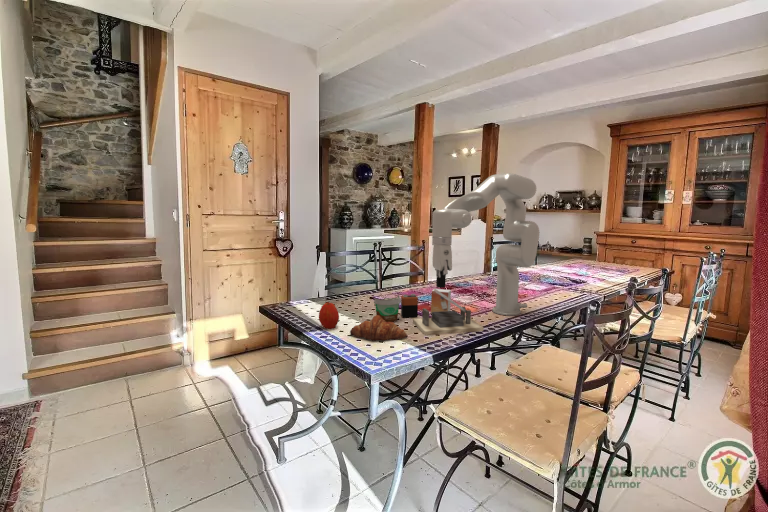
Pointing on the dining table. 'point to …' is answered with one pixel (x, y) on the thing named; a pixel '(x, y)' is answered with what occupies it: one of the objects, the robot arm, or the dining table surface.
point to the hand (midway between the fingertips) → (440, 287)
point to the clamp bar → (450, 300)
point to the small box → (440, 301)
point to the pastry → (378, 330)
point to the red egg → (328, 316)
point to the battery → (409, 306)
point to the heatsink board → (446, 322)
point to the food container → (388, 308)
